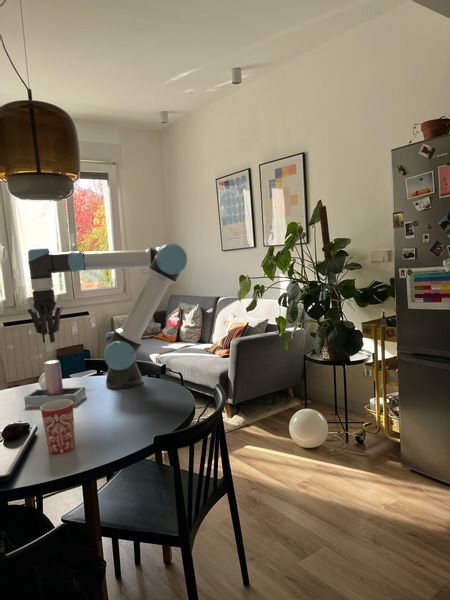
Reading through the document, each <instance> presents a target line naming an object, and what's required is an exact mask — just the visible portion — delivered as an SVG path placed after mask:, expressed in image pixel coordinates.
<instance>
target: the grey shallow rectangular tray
mask: <svg viewBox="0 0 450 600" xmlns="http://www.w3.org/2000/svg"><path fill="white" fill-rule="evenodd" d="M63 392H64V395H47V390H46V389H41V388H39V389H35V390H33V391H32V392H30V393H28V394H27V395H26V396H24V407H25V408H26V409H28V408H40V407H41V406H42V405H43V404H45V403H47V402H51V401H55V400H61V399H69V400H72V401H73V407H74V406H78V405H79V404H80V403H81V402H82V401H83V400H85V398H87V394H86V393H87V392H86V387H85V386H79V387H77V386H76V387H63Z"/></svg>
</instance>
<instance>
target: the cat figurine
mask: <svg viewBox="0 0 450 600" xmlns="http://www.w3.org/2000/svg"><path fill="white" fill-rule="evenodd" d="M38 384H39V387H40V389H46V381H45V373H44V372H43V373H42V374H41V375H40V376H39V379H38Z"/></svg>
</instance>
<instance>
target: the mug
mask: <svg viewBox="0 0 450 600" xmlns="http://www.w3.org/2000/svg"><path fill="white" fill-rule="evenodd" d="M39 410H40V411H41V417H42V422H43V427H44V433H45V439H46V443H47V444H46V445H47V449H48V452H49V453H50V454H52V455H61V454H65V453H68V452H69V453H70V452H71V451H72V450H73V449H75V446H76V445H75V444H76V441H75V439H76V438H75V423H74V406H73V401H72V400H69V399H61V400H55V401H51V402H47V403H45V404H43V405H42V406H41V407H39Z"/></svg>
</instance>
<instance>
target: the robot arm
mask: <svg viewBox="0 0 450 600" xmlns="http://www.w3.org/2000/svg"><path fill="white" fill-rule="evenodd" d="M27 254H28V255H27V257H28V258H27V259H28V261H27V263H28V268H29V274H30V284H31V290H32V300H33V304H32V305H33V306H32V307H31V308H29V309H27V313H28V314H29V315H30V316H31V320H32V322H33V326H34V328H35V331H36V333H37V334H41V337H42V342H43V343H44V344H45V349H46V352H48V353H49V352H53V351H55V349H54V348H55V347H54V346H55V345H54V342H56V338H55V333H58V332H59V331H60V323H61V312H62V311H63V309H64V308H63V306H59V305H58V304H57V302H56V301H55V300H56V299H55V292H54V291H55V290H54V289H53V288H54V282H53V274H56V273H71V272H73V273H75V272H81V271H96V270H97V271H99V270H102V271H103V270H125V269H126V270H129V269H148V271H149V276H148V277H147V279H146V281H145V283H144V285H143V287H142V288H141V290H140V292H139V294H138V296H137V298H136V300H135V301H134V303H133V305H132V307H131V309H130V310H129V312H128V314H127V316H126V318H125V320H124V321H123V323H122V325H121V327H119V328H116V329H115V330H114V331H108V332H106V333H105V339H104V340H105V345H106V346H105V348H104V349H103V359H104V362H105V363H106V364H107V366H108V370H107V375H106V378H105V379H106V380H105V385H106V386H105V387H106V388H107V389H110V390H112V389H113V390H123V389H129V388H133V387H136V386H139V385H141V384H142V383H143V376H142V374H141V371H140V369H139V367H138V364H137V356H136V355H137V354H138V352H139V349H140V347H142V344H143V341H142V336H143V334H144V332H145V330H146V329H147V327H148V325H149V323H150V321H151V320H152V317H153V316H154V314H155V313H156V310H157V309H158V307H159V305H160V303H161V302H162V299H163V298H164V295H165V294H166V292H167V291H168V288H169V286H170V285H171V284H175V283H176V282H177V279H178V277H179V276H180V274H181V273H182V271H183V270H185V268H186V266H187V263H188V257H187V253H186V250H185V249H184V248H183V247H182V246H180V244H176V243H172V242H170V243H166V244H163V245H160V246H156V247H155V246H152V247H151V246H150V247H149V246H148V248H146V249H137V250H135V249H134V250H131V249H130V250H129V249H128V250H106V251H105V250H103V251H75V250H73V251H65V252H61V251H60V252H50V249H49V248H48V247H45V248H31V249H29V250H28V252H27ZM53 315H54V318H53Z"/></svg>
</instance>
